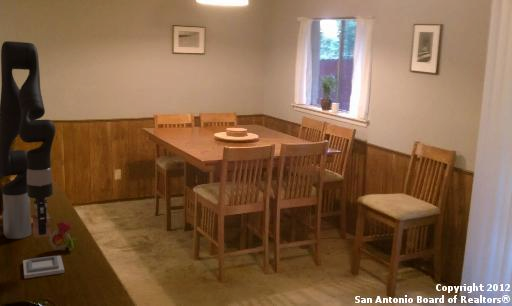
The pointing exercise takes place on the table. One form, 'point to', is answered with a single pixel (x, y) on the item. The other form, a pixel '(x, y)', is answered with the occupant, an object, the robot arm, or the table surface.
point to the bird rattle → (59, 239)
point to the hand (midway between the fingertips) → (42, 231)
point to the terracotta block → (36, 229)
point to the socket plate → (43, 266)
